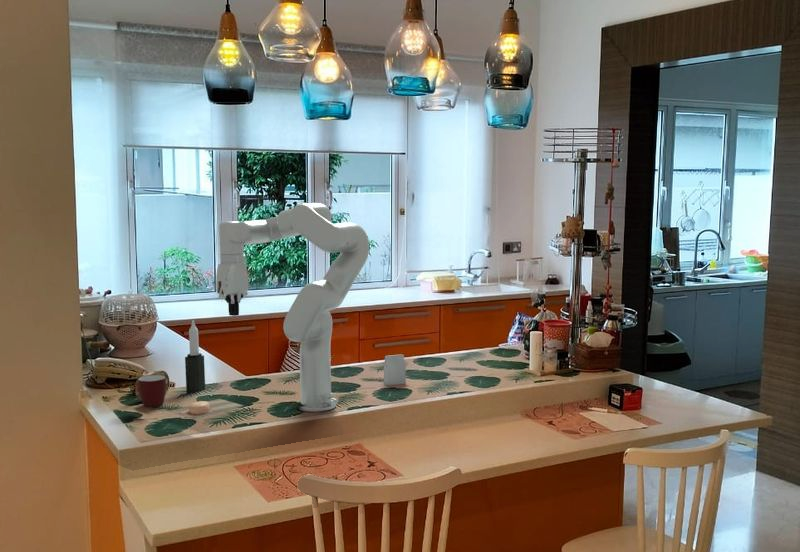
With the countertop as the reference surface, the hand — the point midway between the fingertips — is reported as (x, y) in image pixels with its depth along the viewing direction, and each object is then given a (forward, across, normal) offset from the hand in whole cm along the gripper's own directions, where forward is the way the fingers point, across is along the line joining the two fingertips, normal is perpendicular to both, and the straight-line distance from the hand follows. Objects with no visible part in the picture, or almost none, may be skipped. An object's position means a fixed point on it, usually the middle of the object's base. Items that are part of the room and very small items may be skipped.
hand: (234, 315), depth 257 cm
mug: (+27, +26, -8) cm, 39 cm away
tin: (+27, +19, -20) cm, 39 cm away
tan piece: (+27, +18, +10) cm, 34 cm away
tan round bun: (+27, +21, +10) cm, 35 cm away
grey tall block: (+27, -46, +29) cm, 61 cm away
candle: (+27, +7, -13) cm, 31 cm away
